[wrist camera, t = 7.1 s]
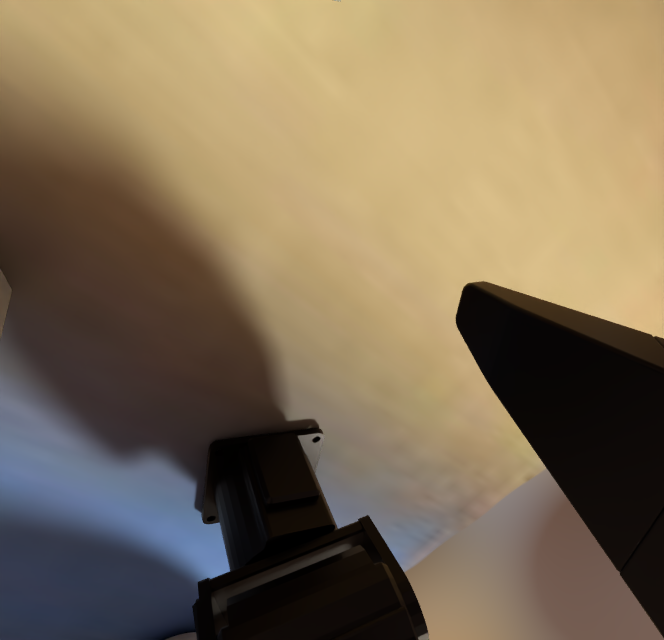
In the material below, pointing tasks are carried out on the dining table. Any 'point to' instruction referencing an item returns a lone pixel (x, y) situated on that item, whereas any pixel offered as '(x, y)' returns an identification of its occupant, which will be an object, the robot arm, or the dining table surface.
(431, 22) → the dining table surface
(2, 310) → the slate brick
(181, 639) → the vase
